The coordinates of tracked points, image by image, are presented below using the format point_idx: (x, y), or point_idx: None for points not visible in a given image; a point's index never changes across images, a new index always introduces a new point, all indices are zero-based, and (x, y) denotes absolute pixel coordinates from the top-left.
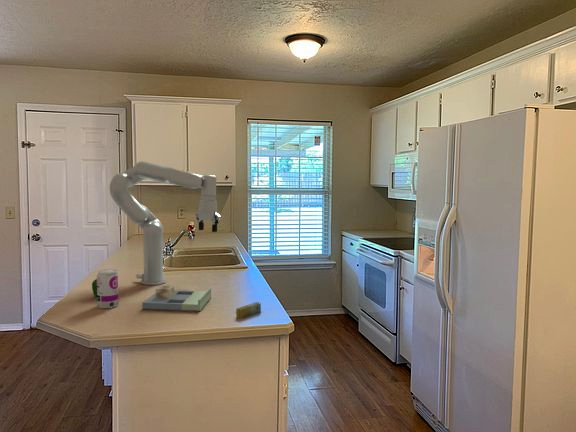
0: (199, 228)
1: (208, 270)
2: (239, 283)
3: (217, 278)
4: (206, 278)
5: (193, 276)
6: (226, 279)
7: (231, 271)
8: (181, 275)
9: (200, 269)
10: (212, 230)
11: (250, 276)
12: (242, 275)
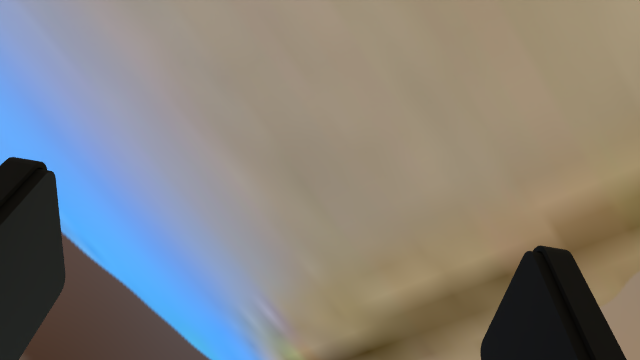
0: (552, 278)
1: (490, 250)
2: (37, 17)
3: (289, 77)
4: (368, 35)
5: (507, 43)
6: (208, 81)
7: (325, 287)
8: (627, 25)
9: None
10: (4, 177)
11: (126, 228)
12: (190, 229)
